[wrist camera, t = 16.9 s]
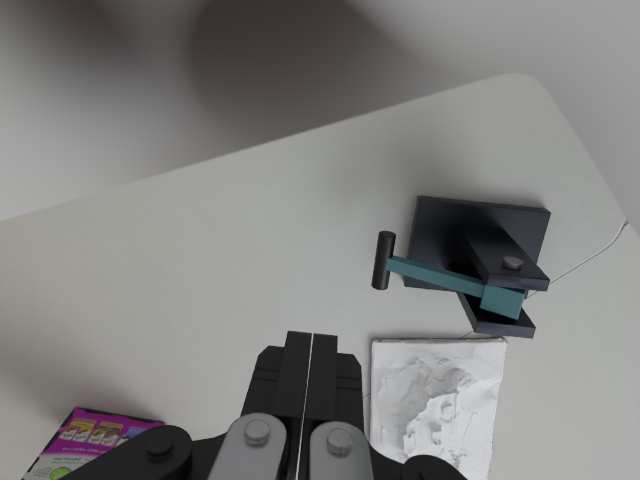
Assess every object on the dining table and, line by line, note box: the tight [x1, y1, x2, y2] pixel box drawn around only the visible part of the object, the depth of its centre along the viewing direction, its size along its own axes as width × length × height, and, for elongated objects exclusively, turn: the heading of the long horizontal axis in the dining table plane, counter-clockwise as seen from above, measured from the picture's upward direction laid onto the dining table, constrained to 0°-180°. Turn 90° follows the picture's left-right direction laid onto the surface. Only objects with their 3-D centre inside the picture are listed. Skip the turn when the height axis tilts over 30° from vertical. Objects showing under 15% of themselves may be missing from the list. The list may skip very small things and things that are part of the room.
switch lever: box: [371, 231, 526, 319], centre depth 38 cm, size 12×5×2 cm, turn 85°
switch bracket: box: [403, 196, 551, 338], centre depth 40 cm, size 12×9×12 cm
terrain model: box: [366, 337, 508, 480], centre depth 51 cm, size 17×23×5 cm
